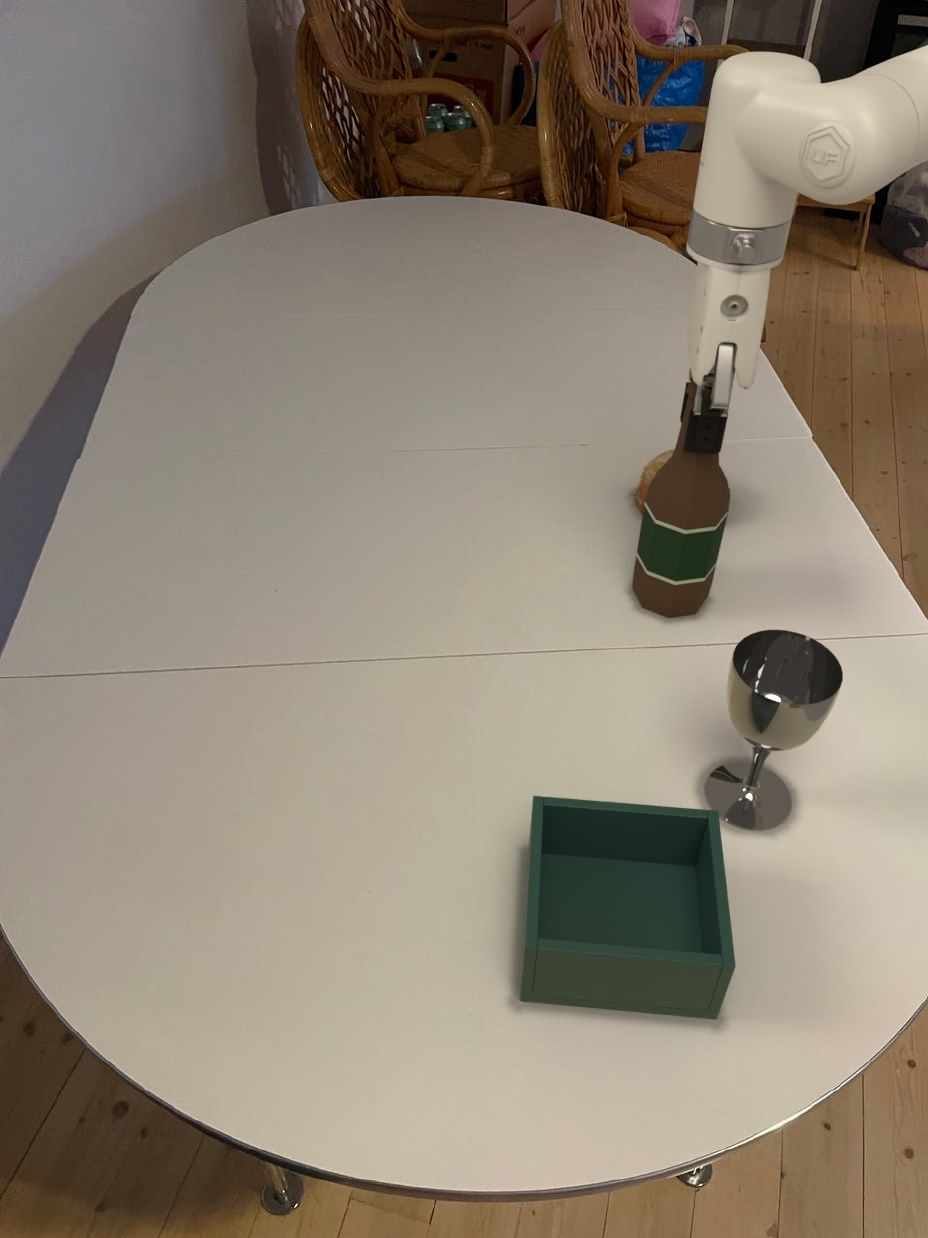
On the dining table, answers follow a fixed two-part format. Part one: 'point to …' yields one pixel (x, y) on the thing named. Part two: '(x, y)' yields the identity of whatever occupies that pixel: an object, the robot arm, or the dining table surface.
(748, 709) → the wine glass
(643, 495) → the bread roll
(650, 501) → the beer bottle
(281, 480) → the dining table surface
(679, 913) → the tub
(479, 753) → the dining table surface
